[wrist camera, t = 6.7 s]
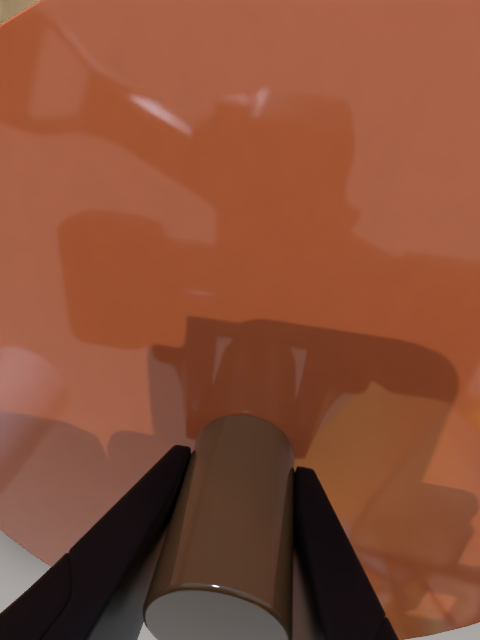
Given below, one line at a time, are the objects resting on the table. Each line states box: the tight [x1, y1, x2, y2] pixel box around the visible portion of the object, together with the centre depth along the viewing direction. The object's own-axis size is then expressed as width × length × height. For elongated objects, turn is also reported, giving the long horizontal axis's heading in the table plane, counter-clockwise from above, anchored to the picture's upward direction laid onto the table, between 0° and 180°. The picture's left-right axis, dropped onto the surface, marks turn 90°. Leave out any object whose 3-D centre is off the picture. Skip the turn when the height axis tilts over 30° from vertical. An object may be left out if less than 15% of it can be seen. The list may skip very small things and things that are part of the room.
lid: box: [0, 0, 480, 640], centre depth 9 cm, size 20×20×5 cm
